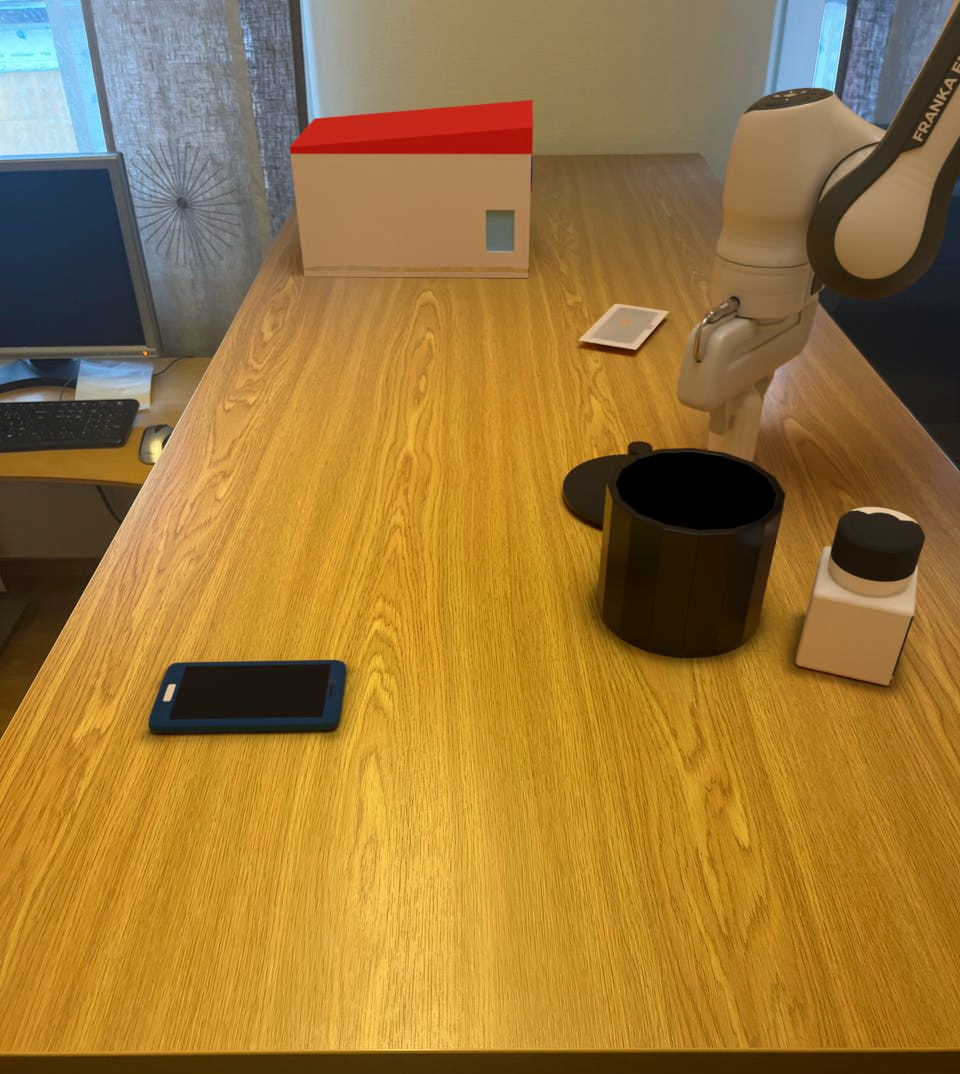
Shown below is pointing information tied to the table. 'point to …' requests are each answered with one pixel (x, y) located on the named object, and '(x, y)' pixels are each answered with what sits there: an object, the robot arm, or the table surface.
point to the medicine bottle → (863, 596)
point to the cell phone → (249, 696)
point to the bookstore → (416, 190)
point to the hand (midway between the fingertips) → (735, 421)
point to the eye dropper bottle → (740, 426)
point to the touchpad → (624, 326)
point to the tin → (687, 550)
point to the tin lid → (595, 482)
